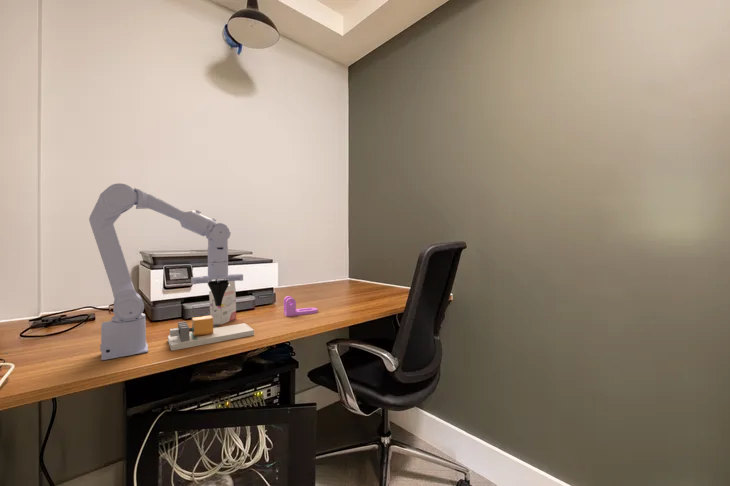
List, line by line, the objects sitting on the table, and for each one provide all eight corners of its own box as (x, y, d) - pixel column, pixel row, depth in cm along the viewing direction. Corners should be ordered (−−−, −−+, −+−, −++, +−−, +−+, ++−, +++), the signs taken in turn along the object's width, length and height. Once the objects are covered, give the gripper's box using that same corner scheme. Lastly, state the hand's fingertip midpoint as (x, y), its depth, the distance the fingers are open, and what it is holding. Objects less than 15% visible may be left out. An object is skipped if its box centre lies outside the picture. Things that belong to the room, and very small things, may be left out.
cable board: (171, 350, 83) (170, 331, 83) (167, 340, 91) (167, 322, 91) (254, 334, 96) (253, 318, 96) (244, 327, 104) (244, 311, 104)
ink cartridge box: (224, 317, 117) (224, 279, 117) (236, 318, 116) (236, 279, 116) (209, 324, 109) (208, 282, 108) (221, 324, 108) (221, 282, 107)
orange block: (194, 336, 89) (194, 320, 89) (192, 333, 92) (191, 317, 92) (213, 333, 92) (213, 317, 92) (210, 330, 95) (210, 315, 95)
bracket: (286, 316, 119) (286, 298, 119) (283, 313, 124) (283, 296, 124) (319, 313, 124) (319, 296, 124) (315, 310, 130) (315, 293, 129)
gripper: (193, 263, 89) (193, 311, 89) (245, 261, 97) (246, 304, 97) (190, 262, 94) (190, 306, 94) (239, 260, 103) (240, 300, 103)
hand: (218, 305), depth 96 cm, fingers closed
